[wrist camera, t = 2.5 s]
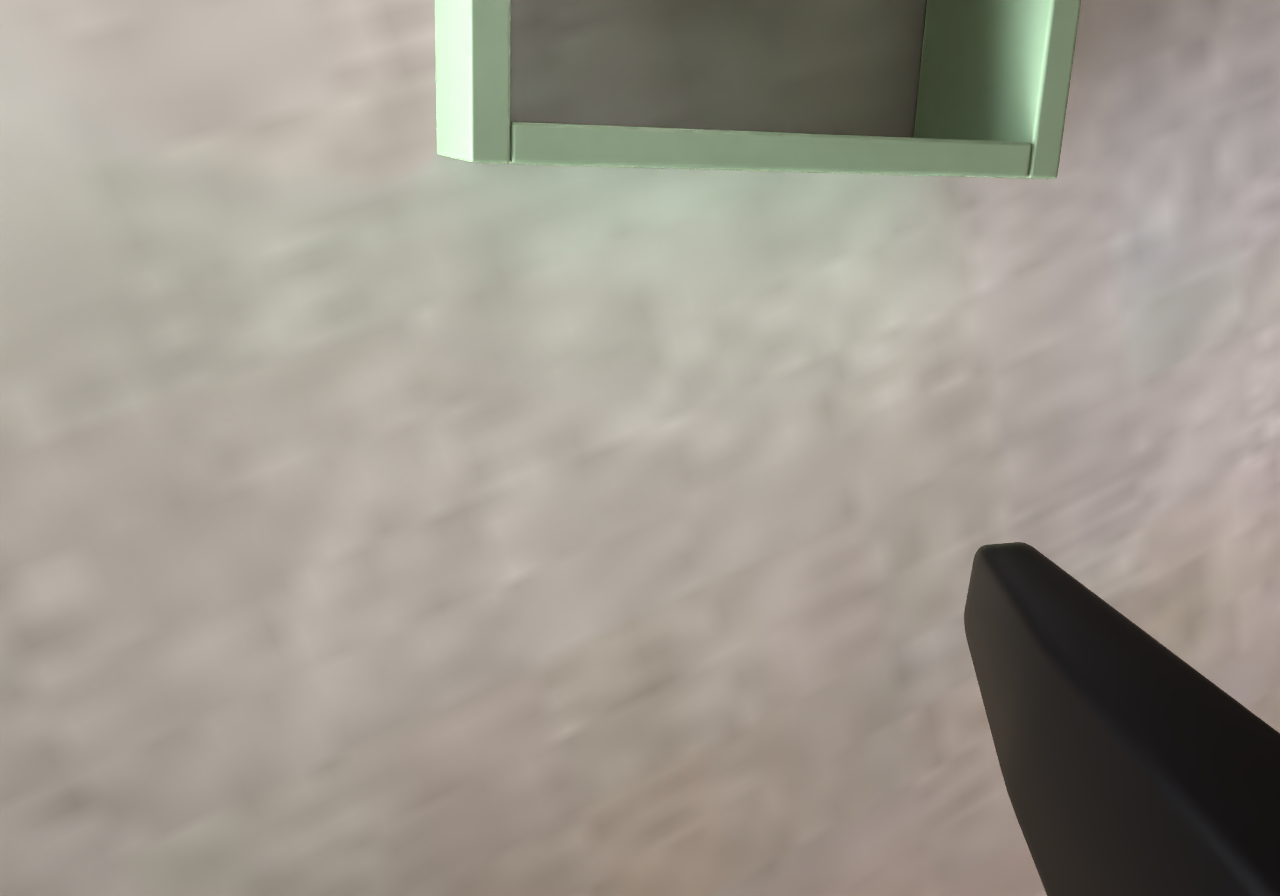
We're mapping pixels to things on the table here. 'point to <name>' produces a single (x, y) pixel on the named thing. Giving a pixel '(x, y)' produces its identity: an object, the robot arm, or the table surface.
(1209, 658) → the table surface
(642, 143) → the green open tray
